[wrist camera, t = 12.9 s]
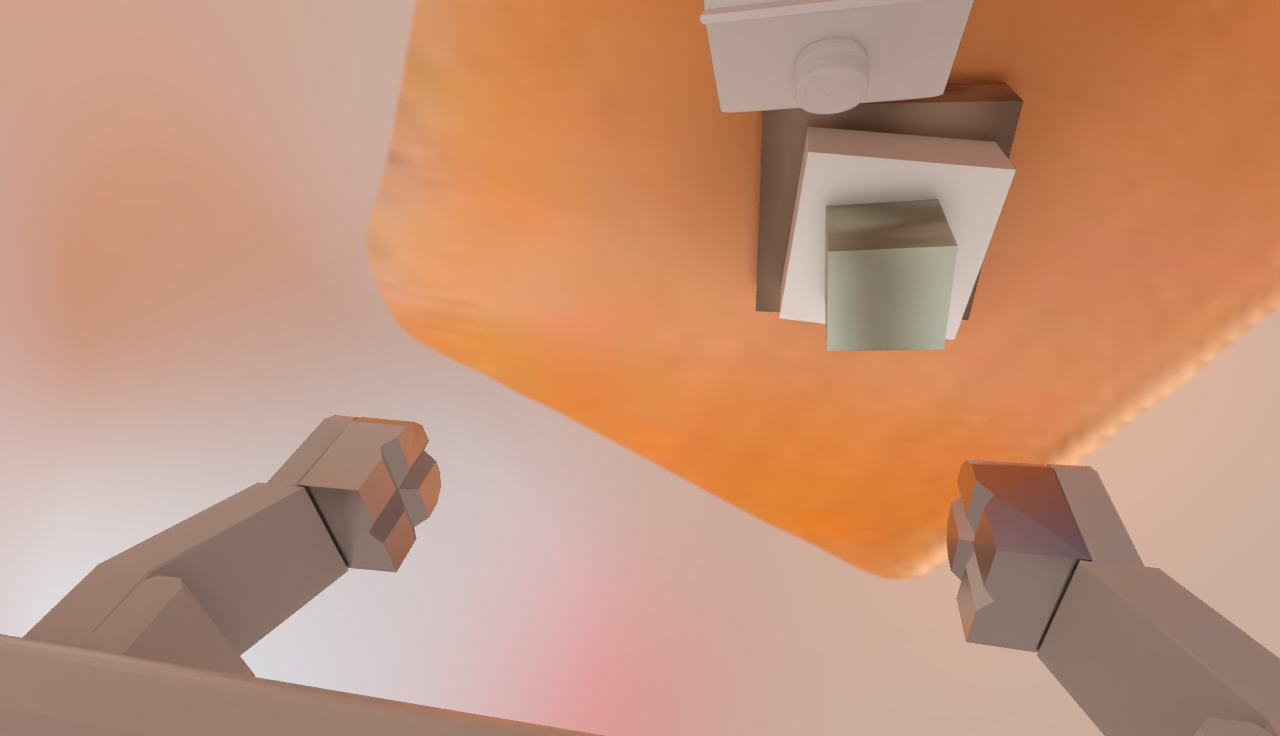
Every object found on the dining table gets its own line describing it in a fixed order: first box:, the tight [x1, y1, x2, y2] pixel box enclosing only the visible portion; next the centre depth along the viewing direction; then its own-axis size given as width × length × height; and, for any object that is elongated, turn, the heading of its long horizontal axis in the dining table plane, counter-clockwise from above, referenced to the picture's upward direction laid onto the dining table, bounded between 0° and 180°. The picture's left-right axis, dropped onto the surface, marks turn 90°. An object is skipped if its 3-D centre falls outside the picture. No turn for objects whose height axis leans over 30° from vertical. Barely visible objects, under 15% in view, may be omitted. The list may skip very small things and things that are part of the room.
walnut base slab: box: [756, 83, 1023, 320], centre depth 38 cm, size 12×12×4 cm
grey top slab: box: [779, 127, 1016, 340], centre depth 34 cm, size 9×9×4 cm
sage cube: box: [825, 199, 958, 351], centre depth 31 cm, size 5×5×5 cm
